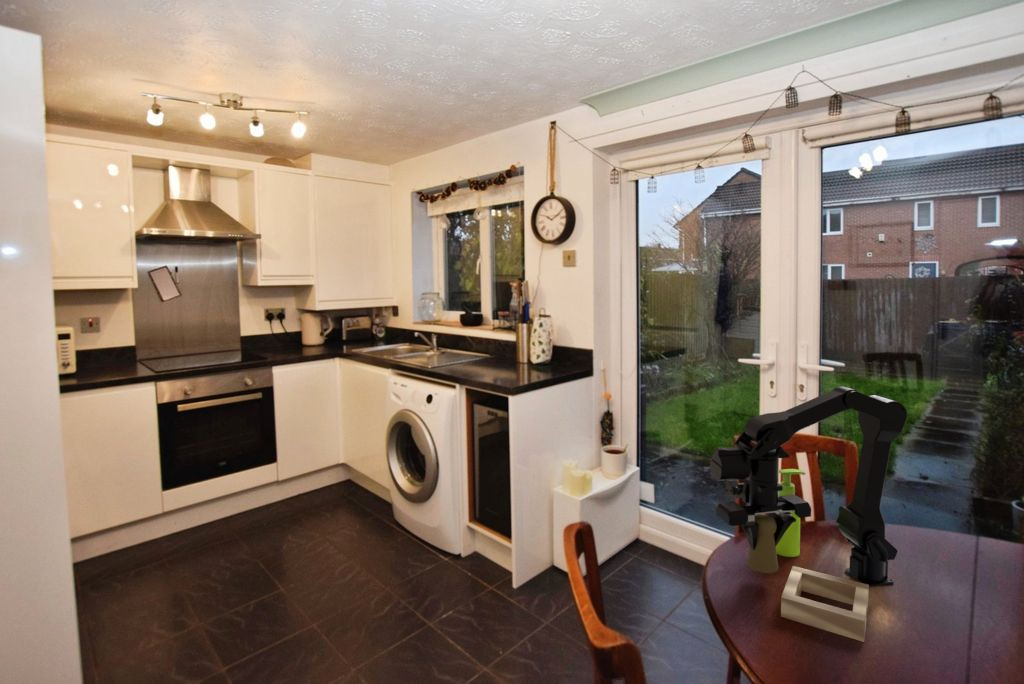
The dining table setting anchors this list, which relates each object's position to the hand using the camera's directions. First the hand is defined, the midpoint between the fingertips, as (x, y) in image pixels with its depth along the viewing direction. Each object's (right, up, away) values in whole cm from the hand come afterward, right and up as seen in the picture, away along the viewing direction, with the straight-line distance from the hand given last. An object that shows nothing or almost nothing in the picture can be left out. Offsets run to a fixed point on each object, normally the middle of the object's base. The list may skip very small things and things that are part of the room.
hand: (763, 547), depth 113 cm
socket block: (+8, -9, -9) cm, 15 cm away
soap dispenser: (+13, -6, +14) cm, 20 cm away
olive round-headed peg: (0, -4, 0) cm, 4 cm away
